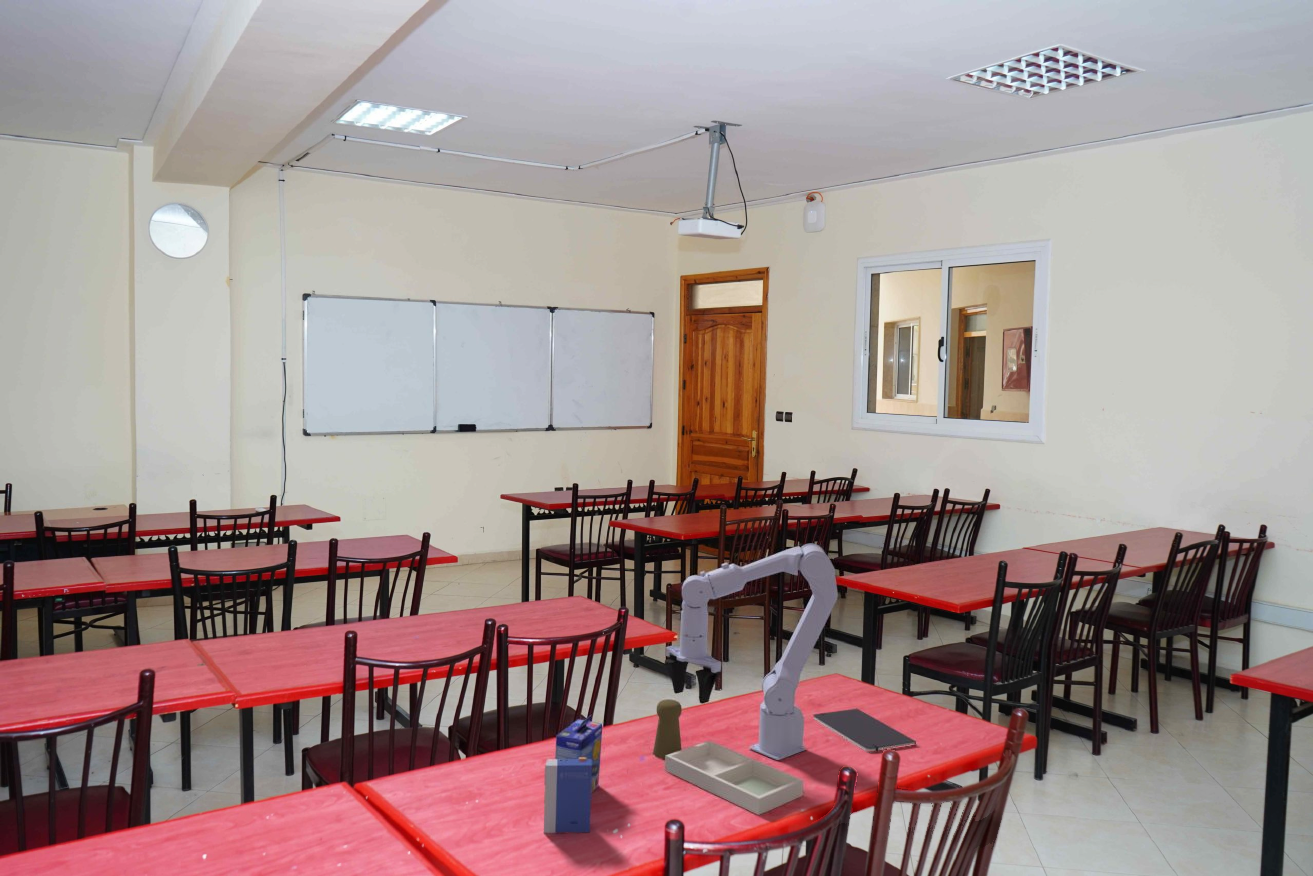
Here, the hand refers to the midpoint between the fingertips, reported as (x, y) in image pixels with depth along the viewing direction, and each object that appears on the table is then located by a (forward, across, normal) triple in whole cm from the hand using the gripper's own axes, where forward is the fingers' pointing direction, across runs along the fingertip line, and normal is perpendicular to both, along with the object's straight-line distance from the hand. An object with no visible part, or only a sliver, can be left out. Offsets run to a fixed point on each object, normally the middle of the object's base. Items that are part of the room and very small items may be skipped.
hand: (691, 697), depth 197 cm
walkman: (+11, +13, -42) cm, 46 cm away
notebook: (+11, +18, +37) cm, 42 cm away
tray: (+10, +18, -6) cm, 22 cm away
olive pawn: (+11, 0, -6) cm, 12 cm away
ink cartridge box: (+11, +3, -32) cm, 34 cm away
